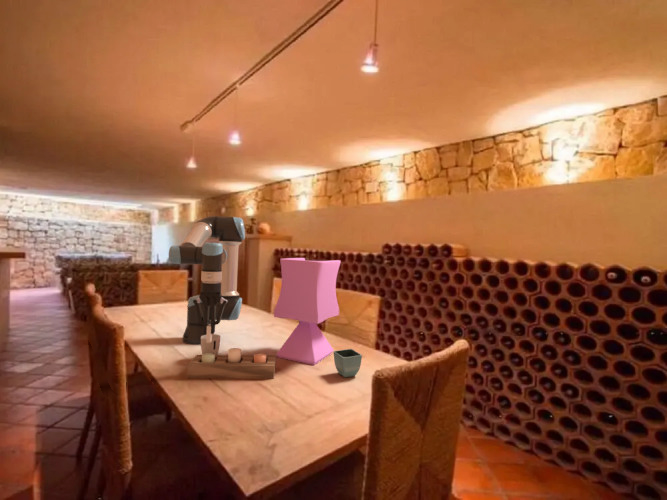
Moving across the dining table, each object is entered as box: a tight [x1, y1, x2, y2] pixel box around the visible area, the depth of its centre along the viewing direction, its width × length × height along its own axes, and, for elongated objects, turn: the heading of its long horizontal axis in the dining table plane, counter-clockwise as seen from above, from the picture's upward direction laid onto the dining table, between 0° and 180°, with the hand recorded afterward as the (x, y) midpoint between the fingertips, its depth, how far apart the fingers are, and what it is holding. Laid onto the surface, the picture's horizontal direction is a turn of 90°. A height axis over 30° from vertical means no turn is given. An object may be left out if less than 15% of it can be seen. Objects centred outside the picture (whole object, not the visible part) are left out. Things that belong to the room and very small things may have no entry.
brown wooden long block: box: [186, 354, 277, 380], centre depth 134 cm, size 12×32×5 cm, turn 96°
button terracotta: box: [253, 353, 267, 363], centre depth 135 cm, size 5×5×5 cm
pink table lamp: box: [273, 257, 341, 366], centre depth 158 cm, size 22×22×45 cm
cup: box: [200, 333, 221, 355], centre depth 147 cm, size 8×8×10 cm
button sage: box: [201, 353, 215, 363], centre depth 133 cm, size 5×5×5 cm
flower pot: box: [333, 348, 363, 378], centre depth 136 cm, size 9×9×9 cm
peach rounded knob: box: [227, 347, 242, 363], centre depth 134 cm, size 5×5×5 cm
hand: (209, 341), depth 133 cm, fingers closed
